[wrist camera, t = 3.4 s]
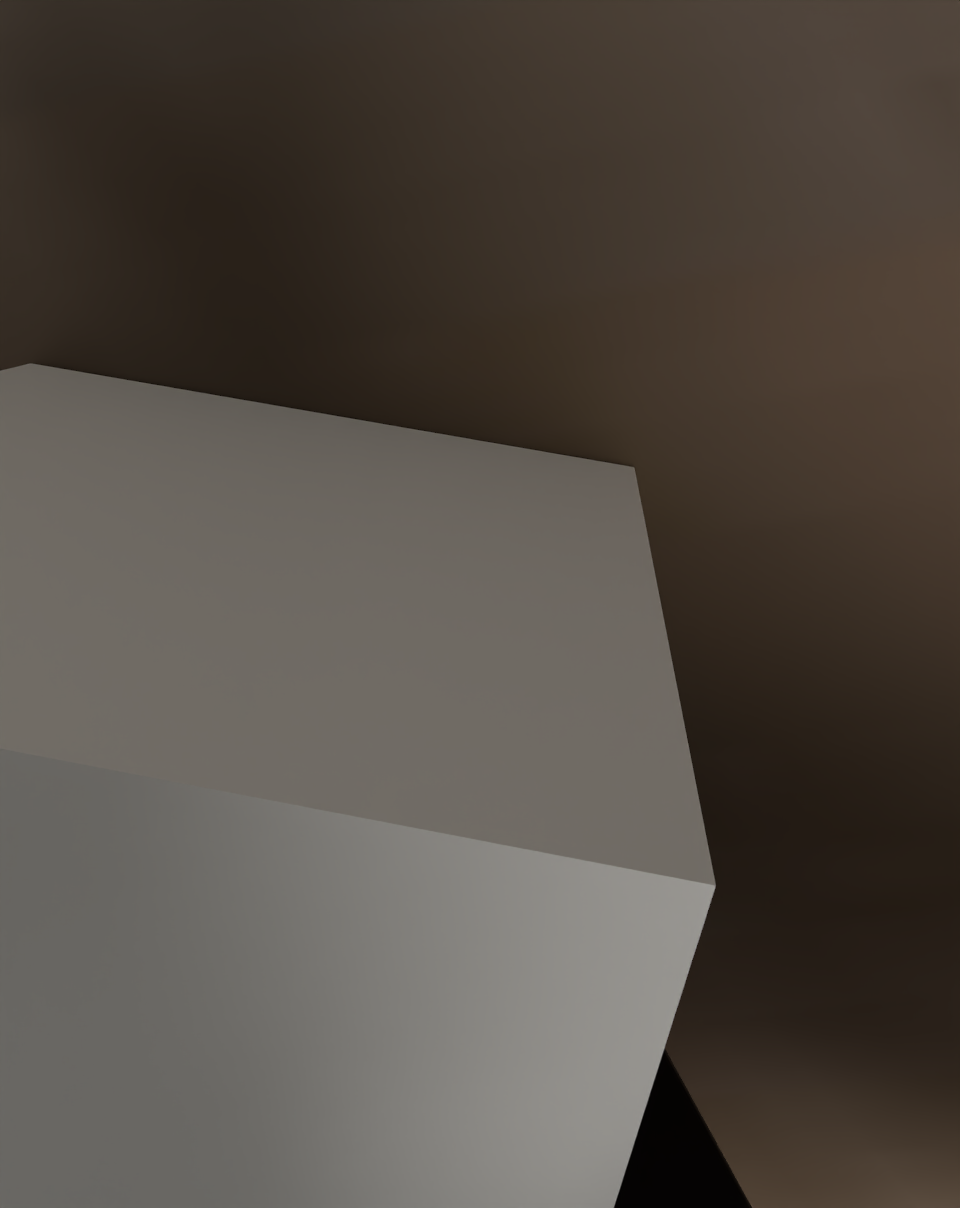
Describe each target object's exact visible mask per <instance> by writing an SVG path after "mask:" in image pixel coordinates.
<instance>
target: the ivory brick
mask: <svg viewBox="0 0 960 1208" xmlns="http://www.w3.org/2000/svg"><path fill="white" fill-rule="evenodd" d="M715 887H716V884H715V879H714V874H713V868H712V863H711V858H710V853H709V848H708V843H707V838H706V832H705V827H704V822H703V817H702V812H701V807H700V802H699V797H698V791H697V786H696V781H695V776H694V771H693V766H692V761H691V756H690V750H689V745H688V740H687V735H686V730H685V725H684V720H683V715H682V709H681V704H680V699H679V694H678V689H677V684H676V679H675V674H674V668H673V663H672V658H671V653H670V648H669V643H668V638H667V633H666V627H665V622H664V617H663V612H662V607H661V602H660V597H659V591H658V586H657V581H656V576H655V571H654V566H653V561H652V556H651V550H650V545H649V540H648V535H647V530H646V525H645V520H644V515H643V509H642V504H641V499H640V494H639V489H638V484H637V479H636V474H635V468H634V467H630V466H625V465H619V464H613V463H607V462H601V461H595V460H590V459H584V458H578V457H572V456H566V455H561V454H555V453H549V452H543V451H537V450H532V449H526V448H520V447H514V446H508V445H503V444H497V443H491V442H485V441H479V440H473V439H468V438H462V437H456V436H450V435H444V434H439V433H433V432H427V431H421V430H415V429H410V428H404V427H398V426H392V425H386V424H381V423H375V422H369V421H363V420H357V419H351V418H346V417H340V416H334V415H328V414H322V413H317V412H311V411H305V410H299V409H293V408H288V407H282V406H276V405H270V404H264V403H259V402H253V401H247V400H241V399H235V398H229V397H224V396H218V395H212V394H206V393H200V392H195V391H189V390H183V389H177V388H171V387H166V386H160V385H154V384H148V383H142V382H137V381H131V380H125V379H119V378H113V377H108V376H102V375H96V374H90V373H84V372H78V371H73V370H67V369H61V368H55V367H49V366H44V365H38V364H32V363H30V364H26V365H22V366H18V367H14V368H9V369H5V370H1V371H0V1208H614V1205H615V1202H616V1199H617V1196H618V1193H619V1190H620V1186H621V1183H622V1180H623V1177H624V1174H625V1171H626V1168H627V1164H628V1161H629V1158H630V1155H631V1152H632V1149H633V1145H634V1142H635V1139H636V1136H637V1133H638V1130H639V1127H640V1123H641V1120H642V1117H643V1114H644V1111H645V1108H646V1104H647V1101H648V1098H649V1095H650V1092H651V1089H652V1086H653V1082H654V1079H655V1076H656V1073H657V1070H658V1067H659V1063H660V1060H661V1057H662V1054H663V1051H664V1048H665V1045H666V1041H667V1038H668V1035H669V1032H670V1029H671V1026H672V1022H673V1019H674V1016H675V1013H676V1010H677V1007H678V1004H679V1000H680V997H681V994H682V991H683V988H684V985H685V981H686V978H687V975H688V972H689V969H690V966H691V963H692V959H693V956H694V953H695V950H696V947H697V944H698V940H699V937H700V934H701V931H702V928H703V925H704V922H705V918H706V915H707V912H708V909H709V906H710V903H711V899H712V896H713V893H714V890H715Z"/></svg>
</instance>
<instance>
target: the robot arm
mask: <svg viewBox="0 0 960 1208" xmlns="http://www.w3.org/2000/svg"><path fill="white" fill-rule="evenodd" d="M614 1208H752V1207H751V1205H750V1203H749V1201H748V1200H747V1198H746V1196H745V1194H744V1192H743V1190H742V1189H741V1187H740V1185H739V1183H738V1181H737V1179H736V1178H735V1176H734V1174H733V1172H732V1170H731V1169H730V1167H729V1165H728V1163H727V1161H726V1159H725V1158H724V1156H723V1154H722V1152H721V1150H720V1148H719V1147H718V1145H717V1143H716V1141H715V1139H714V1137H713V1136H712V1134H711V1132H710V1130H709V1128H708V1126H707V1125H706V1123H705V1121H704V1119H703V1117H702V1116H701V1114H700V1112H699V1110H698V1108H697V1106H696V1105H695V1103H694V1101H693V1099H692V1097H691V1095H690V1094H689V1092H688V1090H687V1088H686V1086H685V1084H684V1083H683V1081H682V1079H681V1077H680V1075H679V1073H678V1072H677V1070H676V1068H675V1066H674V1064H673V1062H672V1061H671V1059H670V1057H669V1055H668V1053H667V1052H666V1050H665V1048H664V1051H663V1054H662V1057H661V1060H660V1063H659V1067H658V1070H657V1073H656V1076H655V1079H654V1082H653V1086H652V1089H651V1092H650V1095H649V1098H648V1101H647V1104H646V1108H645V1111H644V1114H643V1117H642V1120H641V1123H640V1127H639V1130H638V1133H637V1136H636V1139H635V1142H634V1145H633V1149H632V1152H631V1155H630V1158H629V1161H628V1164H627V1168H626V1171H625V1174H624V1177H623V1180H622V1183H621V1186H620V1190H619V1193H618V1196H617V1199H616V1202H615V1205H614Z"/></svg>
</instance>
